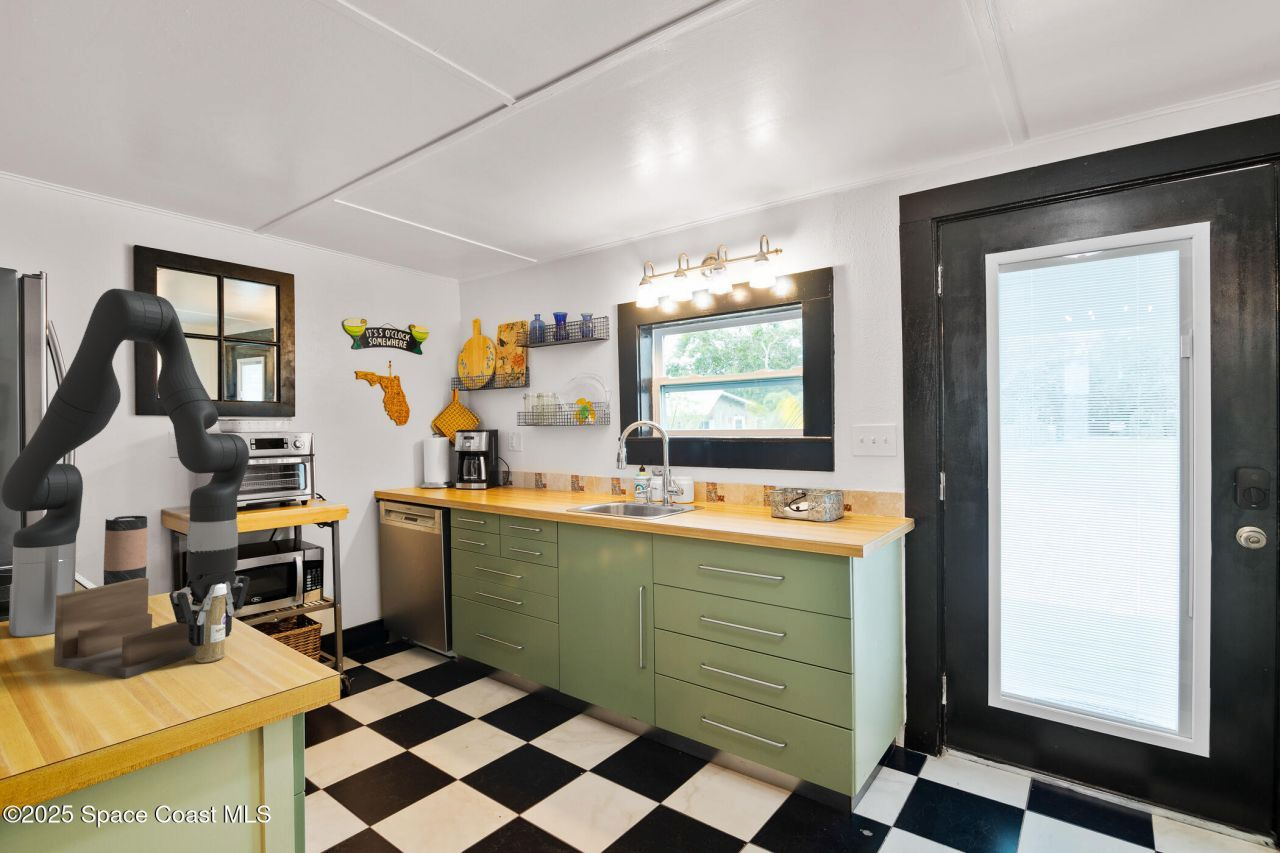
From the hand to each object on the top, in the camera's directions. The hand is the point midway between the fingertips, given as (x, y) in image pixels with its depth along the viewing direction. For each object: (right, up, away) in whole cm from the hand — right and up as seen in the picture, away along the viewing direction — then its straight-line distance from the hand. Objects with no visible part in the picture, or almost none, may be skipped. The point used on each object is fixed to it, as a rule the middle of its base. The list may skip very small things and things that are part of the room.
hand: (210, 640), depth 112 cm
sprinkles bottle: (0, -3, 0) cm, 3 cm away
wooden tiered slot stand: (-13, -3, 0) cm, 13 cm away
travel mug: (-42, -3, +32) cm, 53 cm away
